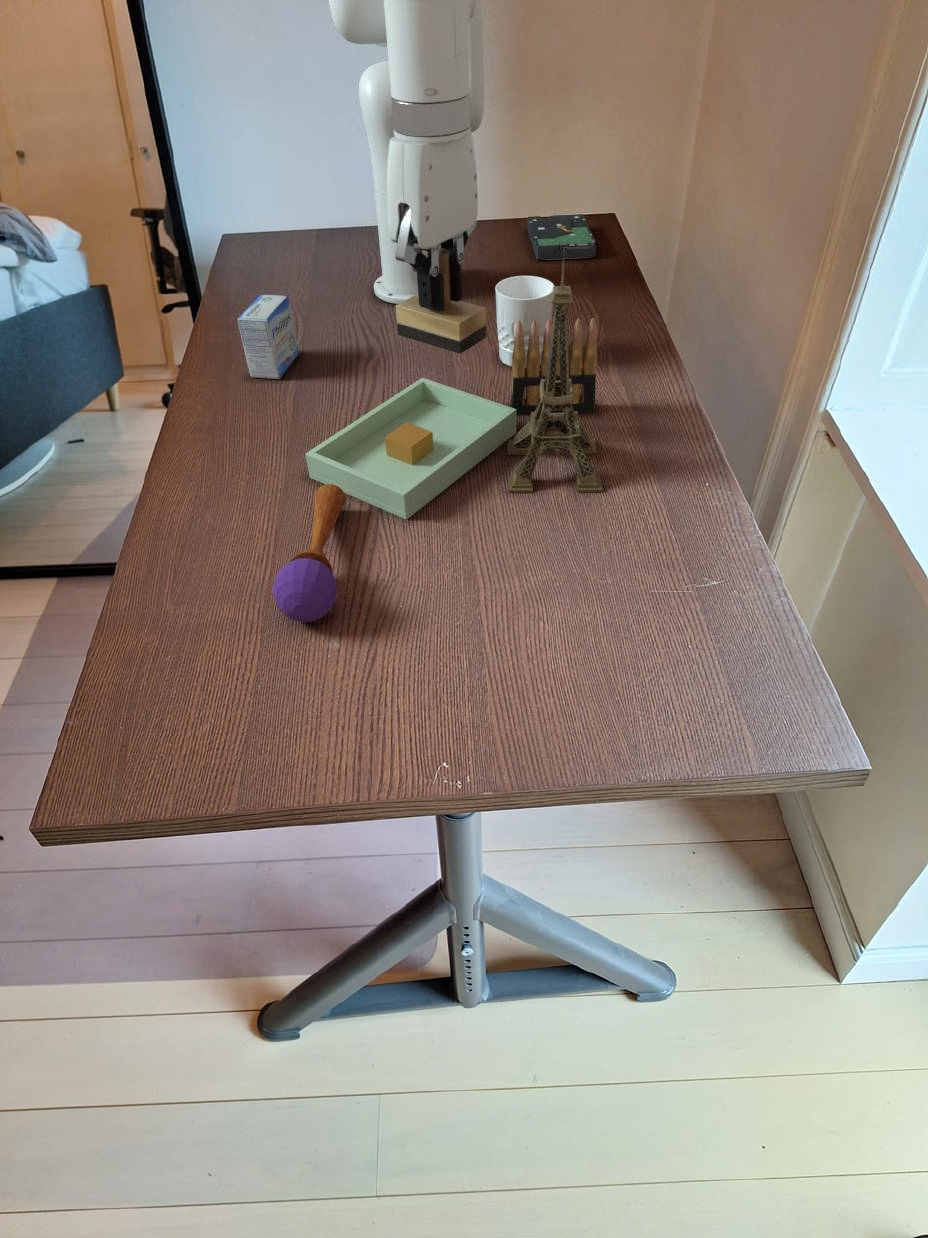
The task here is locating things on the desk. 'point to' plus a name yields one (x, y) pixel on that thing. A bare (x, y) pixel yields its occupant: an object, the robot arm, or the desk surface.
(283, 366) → the medicine box
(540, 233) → the disk drive
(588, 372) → the ammunition clip
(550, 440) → the eiffel tower
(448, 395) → the tray
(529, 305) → the white cup
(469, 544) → the desk surface
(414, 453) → the wooden block
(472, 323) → the brush
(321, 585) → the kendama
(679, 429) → the desk surface
